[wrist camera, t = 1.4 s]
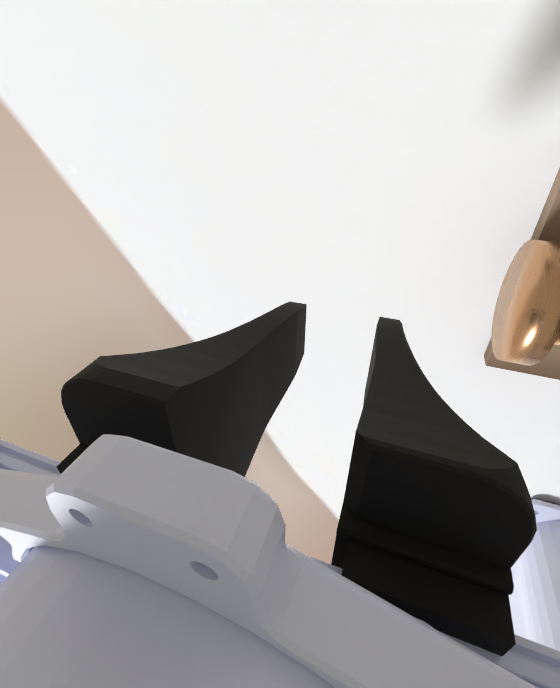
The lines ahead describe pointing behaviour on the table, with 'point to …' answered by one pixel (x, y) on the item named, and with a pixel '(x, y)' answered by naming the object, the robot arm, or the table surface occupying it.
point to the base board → (552, 226)
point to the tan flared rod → (529, 305)
